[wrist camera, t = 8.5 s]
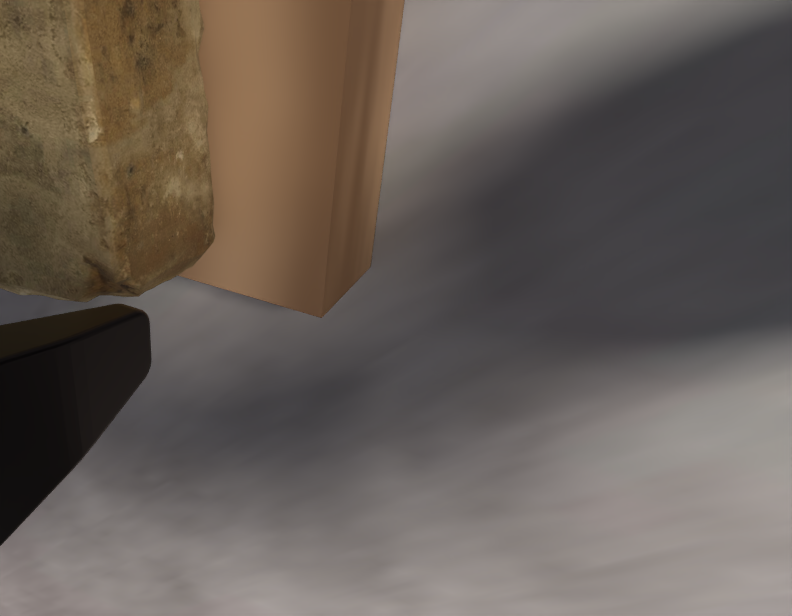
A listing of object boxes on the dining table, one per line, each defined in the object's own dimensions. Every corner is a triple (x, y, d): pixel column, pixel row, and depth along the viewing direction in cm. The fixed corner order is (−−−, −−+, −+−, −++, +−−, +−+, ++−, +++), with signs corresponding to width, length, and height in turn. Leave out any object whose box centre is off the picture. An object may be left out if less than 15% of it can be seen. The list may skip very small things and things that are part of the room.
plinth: (430, -204, 17) (374, -248, 13) (370, 267, 23) (321, 318, 20) (6, -247, 20) (-129, -294, 16) (54, 180, 26) (-36, 212, 23)
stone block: (70, 226, 21) (-75, 288, 17) (-10, -230, 16) (-247, -305, 12) (232, 257, 20) (118, 334, 16) (202, -236, 15) (17, -324, 10)
